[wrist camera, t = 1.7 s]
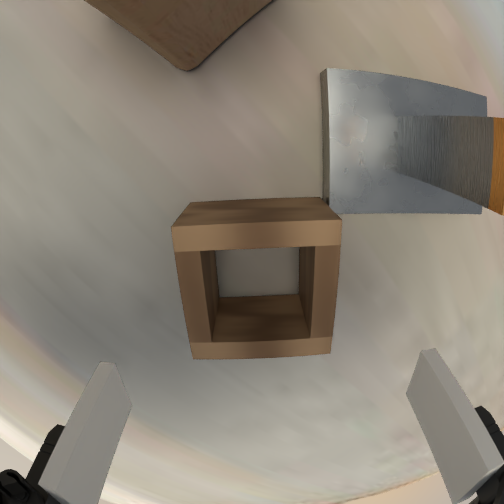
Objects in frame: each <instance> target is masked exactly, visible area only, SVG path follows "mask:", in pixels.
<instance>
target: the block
mask: <svg viewBox="0 0 504 504" xmlns="http://www.w3.org/2000/svg"><path fill="white" fill-rule="evenodd" d="M84 1H86V2H87V3H89V4H90V5H92V6H93V7H95V8H96V9H98V10H99V11H101V12H102V13H104V14H105V15H107V16H108V17H110V18H111V19H112V20H114V21H115V22H117V23H118V24H120V25H121V26H122V27H124V28H125V29H127V30H128V31H129V32H131V33H132V34H133V35H135V36H136V37H138V38H139V39H140V40H142V41H143V42H144V43H146V44H147V45H148V46H150V47H151V48H152V49H154V50H155V51H156V52H157V53H159V54H160V55H161V56H163V57H164V58H165V59H166V60H168V61H169V62H170V63H172V64H173V65H174V66H175V67H177V68H179V69H183V70H186V71H188V70H190V69H192V68H194V67H196V66H198V65H199V64H200V63H201V62H202V61H203V60H204V59H205V58H206V57H207V56H208V55H209V54H210V53H211V52H212V51H213V50H215V49H216V48H217V47H218V46H219V45H220V44H221V43H222V42H223V41H224V40H225V39H226V38H228V37H229V36H230V35H231V34H232V33H233V32H234V31H235V30H237V29H238V28H239V27H240V26H241V25H242V24H243V23H245V22H246V21H247V20H248V19H249V18H251V17H252V16H253V15H254V14H255V13H257V12H258V11H259V10H260V9H262V8H263V7H264V6H265V5H267V4H268V3H269V2H271V1H272V0H84Z"/></svg>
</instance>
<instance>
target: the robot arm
mask: <svg viewBox="0 0 504 504" xmlns="http://www.w3.org/2000/svg"><path fill="white" fill-rule="evenodd" d="M406 395H407V397H408V399H409V401H410V404H411V406H412V408H413V410H414V412H415V414H416V417H417V419H418V421H419V423H420V425H421V428H422V430H423V432H424V434H425V437H426V439H427V441H428V444H429V446H430V448H431V451H432V453H433V455H434V458H435V460H436V463H437V465H438V468H439V470H440V472H441V475H442V477H443V480H444V483H445V485H446V487H447V490H448V493H449V496H450V498H451V501H452V504H457V503H460V502H462V501H464V500H466V499H468V498H470V497H471V496H472V495H473V494H474V493H475V492H477V495H478V496H477V497H476V498H475V499H474V500H473V501H472V502H470V503H469V504H504V435H503V434H502V432H501V431H500V428H499V427H498V425H497V424H495V420H494V419H493V417H492V415H491V414H490V412H488V411H487V410H486V409H485V408H483V407H482V406H479V407H477V408H474V407H473V405H472V404H471V402H470V401H469V399H468V397H467V396H466V394H465V393H464V391H463V389H462V388H461V386H460V385H459V383H458V382H457V380H456V378H455V377H454V375H453V374H452V372H451V371H450V369H449V368H448V366H447V365H446V363H445V362H444V360H443V359H442V357H441V356H440V354H439V353H438V352H437V350H436V349H435V348H433V349H428V350H423V351H421V353H420V356H419V359H418V362H417V365H416V368H415V370H414V373H413V376H412V379H411V382H410V384H409V387H408V389H407V392H406ZM131 407H132V403H131V401H130V399H129V396H128V394H127V392H126V389H125V387H124V385H123V382H122V380H121V377H120V375H119V372H118V370H117V367H116V364H115V363H108V362H100V363H99V365H98V366H97V368H96V370H95V372H94V374H93V375H92V377H91V379H90V381H89V382H88V384H87V386H86V388H85V390H84V392H83V393H82V395H81V397H80V399H79V401H78V403H77V405H76V407H75V408H74V410H73V412H72V414H71V416H70V418H69V420H68V422H67V424H66V426H62V425H58V424H57V425H56V426H55V427H54V428H53V429H52V430H51V431H50V432H49V433H48V435H47V437H46V439H45V441H44V444H43V445H42V447H41V449H40V452H38V454H37V457H36V459H35V461H34V463H33V465H32V467H31V469H30V471H29V473H28V475H27V477H26V479H24V478H23V477H22V476H21V475H20V474H19V473H18V472H17V471H15V470H12V469H8V470H4V471H2V472H1V473H0V504H98V502H99V499H100V495H101V492H102V489H103V486H104V483H105V480H106V477H107V474H108V471H109V468H110V465H111V462H112V459H113V457H114V454H115V451H116V448H117V445H118V442H119V440H120V437H121V434H122V431H123V428H124V426H125V423H126V420H127V418H128V415H129V412H130V410H131Z"/></svg>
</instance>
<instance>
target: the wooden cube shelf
mask: <svg viewBox="0 0 504 504" xmlns="http://www.w3.org/2000/svg"><path fill="white" fill-rule="evenodd" d="M341 229H342V219H341V218H340V217H339V216H338V215H337V214H336V213H335V212H334V211H333V210H332V209H331V208H330V207H329V206H328V205H327V204H326V203H325V202H324V201H323V200H322V199H321V198H320V197H304V198H270V199H246V200H225V201H208V202H192V203H190V204H189V205H188V206H187V207H186V209H185V210H184V211H183V212H182V214H181V215H180V216H179V217H178V219H177V220H176V221H175V222H174V224H173V225H172V226H171V231H172V239H173V246H174V253H175V260H176V267H177V273H178V280H179V286H180V292H181V298H182V304H183V310H184V315H185V321H186V326H187V331H188V337H189V342H190V347H191V352H192V357H193V359H254V358H276V357H293V356H307V355H319V354H329V353H330V351H331V343H332V335H333V327H334V318H335V308H336V298H337V287H338V275H339V262H340V247H341ZM279 247H300V250H299V294H292V295H272V296H248V297H219V289H218V279H217V269H216V259H215V250H232V249H255V248H279Z"/></svg>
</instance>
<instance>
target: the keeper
mask: <svg viewBox="0 0 504 504" xmlns="http://www.w3.org/2000/svg"><path fill="white" fill-rule="evenodd" d="M320 76H321V96H322V124H323V201H324V202H325V203H326V204H327V205H328V206H329V207H330V208H331V209H332V210H333V211H334V212H335V213H336V214H356V213H450V214H481V213H482V206H483V207H485V208H488V209H490V210H492V211H494V212H496V213H498V214H500V215H504V118H495V117H487V98H486V97H485V96H482V95H479V94H475V93H472V92H468V91H465V90H461V89H457V88H453V87H449V86H445V85H441V84H437V83H432V82H427V81H423V80H418V79H412V78H407V77H401V76H395V75H388V74H381V73H374V72H366V71H357V70H346V69H334V68H326V69H325V70H324V71H322V72H321V73H320Z"/></svg>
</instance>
